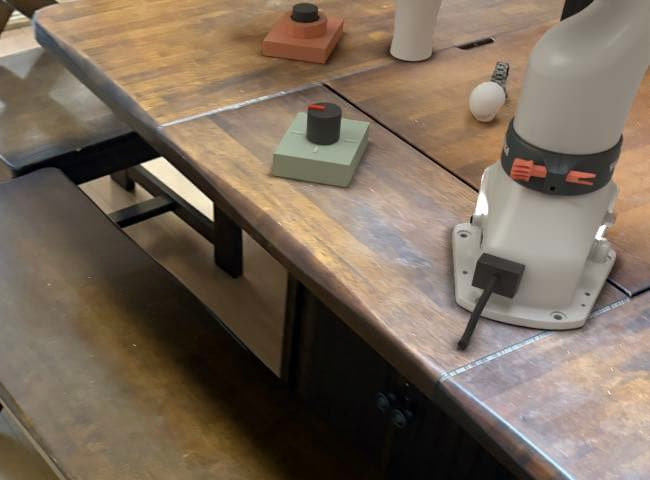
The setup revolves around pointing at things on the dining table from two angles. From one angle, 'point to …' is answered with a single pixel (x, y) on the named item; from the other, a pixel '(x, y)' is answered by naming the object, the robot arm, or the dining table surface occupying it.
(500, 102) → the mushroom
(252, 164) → the dining table surface
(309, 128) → the dial
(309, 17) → the dark grey puck
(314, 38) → the button base
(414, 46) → the cup
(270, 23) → the dining table surface
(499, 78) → the wristwatch
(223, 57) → the dining table surface
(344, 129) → the panel
